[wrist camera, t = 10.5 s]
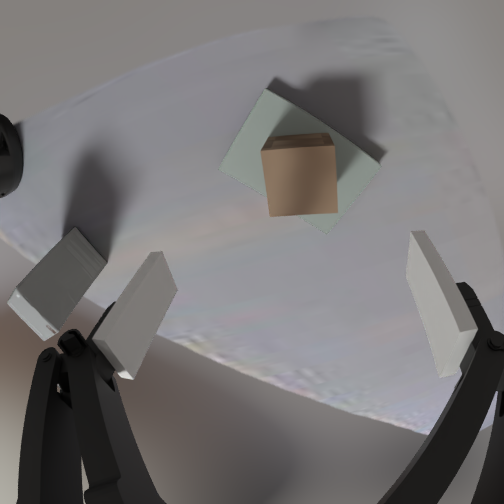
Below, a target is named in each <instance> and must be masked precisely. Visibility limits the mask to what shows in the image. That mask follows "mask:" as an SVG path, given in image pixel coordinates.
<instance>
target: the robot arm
mask: <svg viewBox="0 0 504 504" xmlns="http://www.w3.org/2000/svg"><path fill="white" fill-rule="evenodd" d="M22 168H23V160H22V151H21V146H20V142H19V138H18V135H17V133H16V130H15V128H14V126H13V125H12V123H11V122H10V120H9V119H8V118H7V117H5V116H4V115H2V114H0V198H3V197H5V196H7V195H8V194H10V193H11V192H13V191H14V190H16V188H17V187H18V185H19V183H20V180H21V176H22ZM406 278H407V281H408V283H409V286H410V289H411V291H412V294H413V297H414V299H415V302H416V305H417V308H418V310H419V313H420V316H421V319H422V322H423V325H424V328H425V331H426V334H427V338H428V341H429V344H430V347H431V351H432V354H433V358H434V361H435V365H436V368H437V372H438V376H439V378H442V377H447V376H452V375H455V374H456V372H457V370H458V369H459V367H460V368H461V371H462V376H461V377H460V379H459V381H458V382H457V384H456V386H455V387H454V388H455V389H454V391H453V393H452V395H451V397H450V399H449V401H448V403H447V405H446V406H445V408H444V410H443V412H442V414H441V415H440V417H439V419H438V420H437V422H436V424H435V425H434V427H433V429H432V430H431V432H430V434H429V435H428V437H427V438H426V440H425V441H424V443H423V444H422V446H421V447H420V449H419V450H418V452H417V453H416V455H415V456H414V458H413V459H412V460H411V462H410V463H409V465H408V466H407V467H406V469H405V470H404V471H403V473H402V474H401V475H400V477H399V478H398V479H397V480H396V482H395V483H394V484H393V485H392V487H391V488H390V489H389V490H388V491H387V493H386V494H385V495H384V496H383V498H381V500H380V501H379V502H378V503H377V504H437V503H438V501H439V500H440V499H441V497H442V496H443V494H444V493H445V491H446V490H447V488H448V486H449V485H450V483H451V482H452V480H453V478H454V477H455V475H456V474H457V472H458V470H459V469H460V467H461V465H462V463H463V461H464V460H465V458H466V456H467V454H468V452H469V450H470V448H471V447H472V445H473V443H474V441H475V439H476V436H477V434H478V432H479V430H480V428H481V426H482V424H483V422H484V419H485V417H486V415H487V412H488V410H489V407H490V405H491V402H492V400H493V397H494V395H495V392H496V391H498V395H497V403H496V410H495V416H494V422H493V427H492V432H491V437H490V441H489V446H488V450H487V454H486V458H485V461H484V465H483V469H482V472H481V475H480V479H479V482H478V485H477V488H476V491H475V494H474V496H473V499H472V502H471V504H504V335H503V334H502V333H500V332H498V331H494V329H493V327H492V325H491V323H490V321H489V319H488V317H487V315H486V313H485V311H484V309H483V307H482V306H481V303H480V301H479V299H477V296H476V294H475V292H474V290H473V289H472V288H471V287H470V286H469V285H468V284H467V283H465V282H461V283H455V281H454V280H453V278H452V276H451V274H450V272H449V271H448V269H447V267H446V265H445V264H444V262H443V260H442V258H441V257H440V255H439V253H438V252H437V250H436V248H435V247H434V245H433V244H432V242H431V240H430V239H429V237H428V236H427V234H426V232H425V231H411V234H410V244H409V253H408V261H407V269H406ZM177 290H178V289H177V287H176V284H175V282H174V279H173V277H172V274H171V272H170V269H169V267H168V264H167V262H166V259H165V257H164V254H163V252H162V251H161V252H151V253H150V254H149V256H148V257H147V259H146V260H145V261H144V263H143V264H142V265H141V267H140V268H139V270H138V271H137V272H136V274H135V275H134V277H133V278H132V279H131V281H130V282H129V284H128V285H127V287H126V288H125V289H124V291H123V292H122V294H121V295H120V297H119V298H118V300H117V301H116V302H113V303H112V304H111V305H110V306H109V307H108V308H107V309H106V310H105V312H104V313H103V315H102V317H101V318H100V320H99V322H98V323H97V324H96V325H95V327H94V329H93V330H92V332H91V333H90V335H89V337H88V338H87V340H85V339H84V337H83V336H82V334H81V333H80V332H79V331H78V330H77V329H71V330H68V331H67V332H65V333H64V334H63V335H62V336H61V337H60V338H59V340H58V344H57V345H58V346H59V347H60V349H61V350H62V351H63V352H64V353H63V354H59V353H58V351H57V350H56V349H55V348H53V347H50V348H47V349H45V350H44V351H42V353H41V354H40V355H39V357H38V360H37V364H36V368H35V372H34V376H33V380H32V385H31V389H30V394H29V399H28V404H27V409H26V415H25V421H24V427H23V435H22V443H21V451H20V462H19V479H18V500H17V503H16V504H84V503H83V491H82V471H81V470H82V469H81V456H82V460H83V464H84V468H85V472H86V476H87V479H88V483H89V489H87V490H86V491H85V492H84V499H85V503H86V504H166V503H165V502H164V501H163V500H162V498H161V497H160V496H159V494H158V493H157V491H156V488H155V486H154V484H153V482H152V480H151V478H150V475H149V473H148V471H147V468H146V466H145V464H144V461H143V459H142V456H141V454H140V451H139V449H138V446H137V444H136V441H135V438H134V436H133V433H132V430H131V427H130V424H129V421H128V418H127V416H126V413H125V409H124V406H123V403H122V400H121V396H120V393H119V390H118V386H117V383H116V380H115V378H114V377H113V373H114V371H115V370H116V371H117V373H118V374H119V375H120V377H122V378H127V379H134V378H135V375H136V373H137V371H138V369H139V367H140V365H141V363H142V361H143V359H144V356H145V354H146V352H147V350H148V348H149V346H150V344H151V342H152V340H153V338H154V336H155V334H156V332H157V330H158V328H159V326H160V324H161V322H162V320H163V318H164V316H165V314H166V312H167V310H168V308H169V306H170V304H171V302H172V300H173V298H174V296H175V294H176V292H177ZM57 386H58V387H59V388H60V393H58V392H57Z"/></svg>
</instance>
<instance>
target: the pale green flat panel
mask: <svg viewBox="0 0 504 504" xmlns="http://www.w3.org/2000/svg"><path fill="white" fill-rule="evenodd" d="M312 133H329V135H330V137H331V139H332V141H333V143H334V145H335V157H336V174H337V197H338V213H330V214H310V215H296V216H298V217H300V218H301V219H303V220H304V221H306V222H308V223H309V224H311V225H312V226H314V227H316V228H317V229H319V230H320V231H322V232H323V233H325V234H328V233H329V232H330V230H331V229H332V228H333V227H334V226H335V224H336V223H337V222H338V221H339V219H340V218H341V217H342V216H343V215H344V213H345V212H346V211H347V210H348V208H349V207H350V206H351V205H352V203H353V202H354V201H355V200H356V198H357V197H358V196H359V195H360V193H361V192H362V191H363V190H364V188H365V187H366V186H367V185H368V183H369V182H370V181H371V179H372V178H373V177H374V176H375V174H376V173H377V172H378V170H379V169H380V168H381V167H382V166H381V164H380V163H379V162H378V161H376V160H375V159H374V158H373V157H371V156H370V155H369V154H367V153H366V152H365V151H363V150H362V149H361V148H359V147H358V146H357V145H355V144H354V143H352V142H351V141H350V140H348V139H347V138H345V137H344V136H343V135H341V134H340V133H338V132H337V131H335V130H334V129H332V128H331V127H329V126H328V125H326V124H325V123H323V122H322V121H320V120H319V119H317V118H316V117H314V116H313V115H311V114H309V113H308V112H306V111H305V110H303V109H301V108H300V107H298V106H297V105H295V104H293V103H292V102H290V101H288V100H286V99H285V98H283V97H281V96H280V95H278V94H276V93H274V92H273V91H271V90H269V89H267V88H266V89H265V90H264V91H263V93H262V95H261V96H260V98H259V100H258V101H257V103H256V104H255V106H254V108H253V109H252V111H251V113H250V114H249V116H248V118H247V120H246V121H245V123H244V125H243V126H242V128H241V130H240V132H239V133H238V135H237V137H236V138H235V140H234V142H233V144H232V145H231V147H230V149H229V151H228V153H227V154H226V156H225V158H224V160H223V162H222V163H221V165H220V167H219V169H218V170H220V171H221V172H223V173H225V174H227V175H229V176H230V177H232V178H234V179H236V180H237V181H239V182H241V183H243V184H244V185H246V186H248V187H249V188H251V189H253V190H255V191H256V192H258V193H260V194H261V195H263V196H265V197H266V198H267V193H266V186H265V179H264V172H263V166H262V159H261V153H260V151H261V149H262V147H263V145H264V144H265V142H266V140H267V138H268V137H275V136H285V135H298V134H312Z"/></svg>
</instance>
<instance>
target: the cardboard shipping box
mask: <svg viewBox="0 0 504 504" xmlns="http://www.w3.org/2000/svg"><path fill="white" fill-rule="evenodd" d="M260 153H261V159H262V166H263V172H264V179H265V186H266V193H267V200H268V207H269V214H270V217H275V216H291V215H310V214H330V213H338V197H337V174H336V157H335V145H334V143H333V141H332V139H331V137H330V135H329V133H312V134H298V135H285V136H275V137H268V138H267V140H266V142H265V144H264V145H263V147H262V149H261V151H260Z"/></svg>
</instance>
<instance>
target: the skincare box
mask: <svg viewBox="0 0 504 504" xmlns="http://www.w3.org/2000/svg"><path fill="white" fill-rule="evenodd" d="M106 264H107V262H106V261H105V260H104V259H103V257H102V256H101V255H100V254H99V253H98V252H97V251H96V250H95V249H94V248H93V246H92V245H91V244H90V243H89V242H88V241H87V240H86V239H85V237H84V236H83V235H82V234H81V233H80V232H79V230H78V229H77V228H76V227H74V228H73V229H72V230H71V231H70V232H69V233H68V234H67V235H66V236H64V237H63V238H62V239H61V240H60V241H59V242H58V243H57V244H56V245H55V246H54V247H53V248H52V249H51V250H50V251H49V252H48V253H47V255H46V256H45V257H44V258H43V259H42V260H41V261H40V262H39V263H38V264H37V265H36V266H35V267H34V268H33V269H32V271H31V272H30V273H29V274H28V275H27V276H26V277H25V278H24V279H23V280H22V281H21V282H20V283H19V284H18V285H17V286H16V288H15V289H14V291H13V293H12V294H11V296H10V298H9V300H8V302H7V304H8V305H9V306H10V307H11V308H12V309H13V310H14V311H15V312H16V313H17V314H18V315H19V316H20V317H21V318H22V319H23V320H24V321H25V322H26V323H27V325H29V326H30V328H31V329H33V331H34V332H35V333H36V334H37V335H39V337H40V338H42V339H43V340H44V341H45V340H47V339H48V338H50V337H52V336H53V335H54V334H56V333H58V332H59V331H60V329H61V327H62V326H63V324H64V323H65V321H66V320H67V318H68V316H69V315H70V314H71V312H72V311H73V309H74V308H75V306H76V305H77V304H78V302H79V301H80V299H81V298H82V297H83V295H84V294H85V292H86V291H87V290H88V288H89V287H90V286H91V284H92V283H93V281H94V280H95V279H96V278H97V276H98V275H99V274H100V272H101V271H102V270H103V268H104V267H105V266H106Z"/></svg>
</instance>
